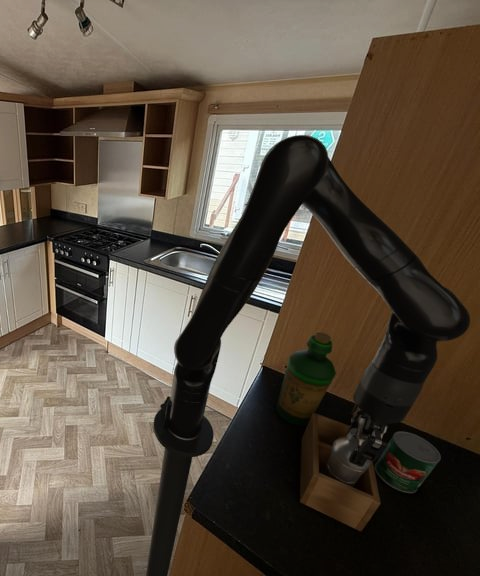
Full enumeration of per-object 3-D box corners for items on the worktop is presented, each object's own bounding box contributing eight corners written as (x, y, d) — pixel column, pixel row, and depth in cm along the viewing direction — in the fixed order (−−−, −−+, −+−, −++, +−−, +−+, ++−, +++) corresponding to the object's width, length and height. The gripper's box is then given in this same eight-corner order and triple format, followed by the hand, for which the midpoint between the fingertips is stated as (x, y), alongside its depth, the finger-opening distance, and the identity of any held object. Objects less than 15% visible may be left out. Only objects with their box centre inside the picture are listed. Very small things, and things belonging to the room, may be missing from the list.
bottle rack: (299, 502, 70) (313, 474, 65) (301, 439, 84) (312, 412, 80) (361, 532, 64) (380, 503, 60) (351, 459, 79) (367, 431, 74)
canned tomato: (379, 484, 73) (399, 453, 68) (370, 456, 80) (388, 426, 75) (423, 499, 70) (448, 468, 65) (410, 469, 76) (432, 438, 72)
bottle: (278, 427, 88) (309, 346, 75) (267, 398, 97) (292, 322, 85) (320, 433, 86) (358, 351, 73) (304, 403, 95) (335, 326, 83)
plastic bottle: (320, 509, 68) (354, 449, 59) (306, 479, 74) (334, 420, 65) (352, 514, 67) (391, 453, 59) (335, 483, 73) (368, 423, 65)
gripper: (357, 360, 64) (329, 418, 71) (366, 406, 53) (333, 470, 60) (405, 373, 60) (371, 433, 68) (426, 426, 49) (383, 491, 57)
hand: (353, 450), depth 64 cm, fingers closed on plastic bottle, 6 cm apart
